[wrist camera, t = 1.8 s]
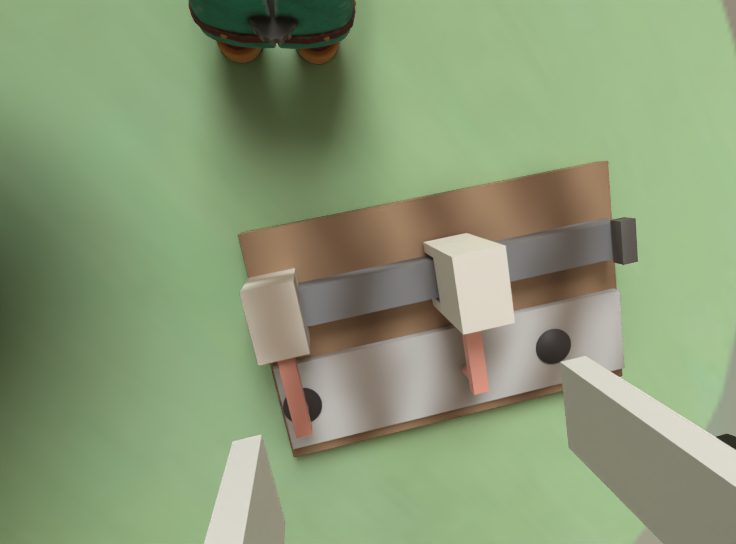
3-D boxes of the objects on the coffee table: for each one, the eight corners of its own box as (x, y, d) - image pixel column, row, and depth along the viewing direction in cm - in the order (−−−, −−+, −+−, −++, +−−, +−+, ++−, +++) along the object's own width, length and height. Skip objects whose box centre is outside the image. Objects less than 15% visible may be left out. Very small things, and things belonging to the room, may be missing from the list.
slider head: (444, 377, 32) (476, 422, 26) (422, 241, 30) (451, 257, 24) (485, 367, 32) (525, 409, 26) (466, 232, 30) (505, 245, 24)
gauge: (294, 447, 33) (292, 496, 28) (240, 232, 29) (226, 243, 24) (611, 369, 35) (663, 401, 30) (596, 161, 32) (651, 158, 27)
